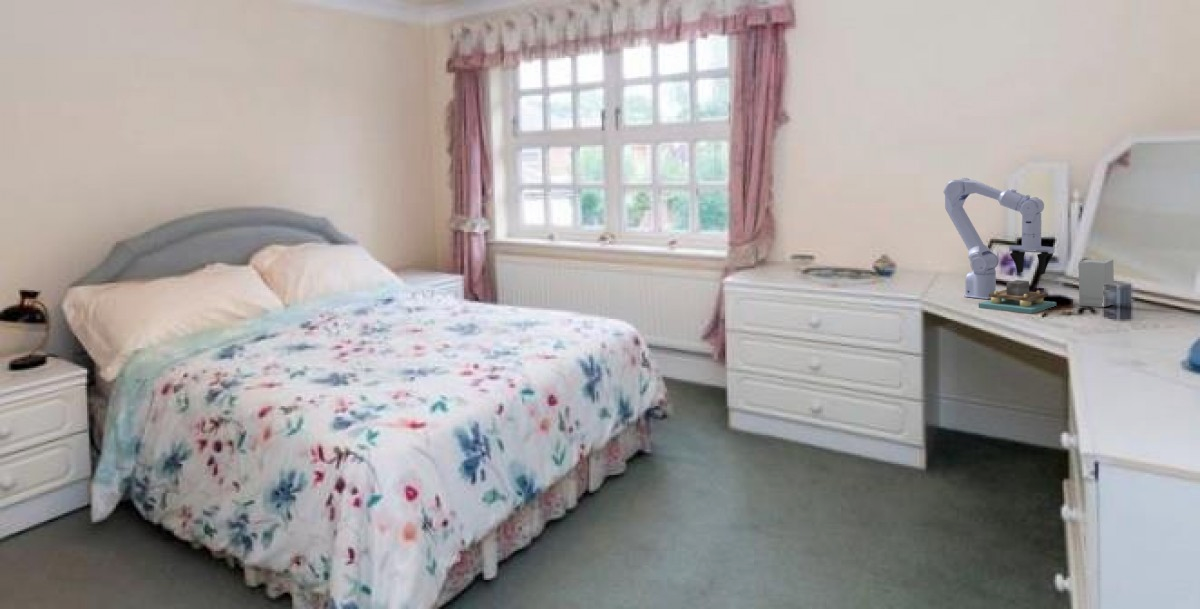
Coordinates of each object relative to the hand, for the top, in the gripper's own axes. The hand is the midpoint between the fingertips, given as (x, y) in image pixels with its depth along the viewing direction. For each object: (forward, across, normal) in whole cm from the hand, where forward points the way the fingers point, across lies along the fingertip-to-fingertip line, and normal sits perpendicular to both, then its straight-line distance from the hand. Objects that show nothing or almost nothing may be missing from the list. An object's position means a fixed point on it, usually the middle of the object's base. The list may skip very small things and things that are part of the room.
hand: (1030, 273), depth 255 cm
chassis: (+9, -3, +13) cm, 16 cm away
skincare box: (+10, -20, -2) cm, 22 cm away
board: (+6, -3, +13) cm, 14 cm away
